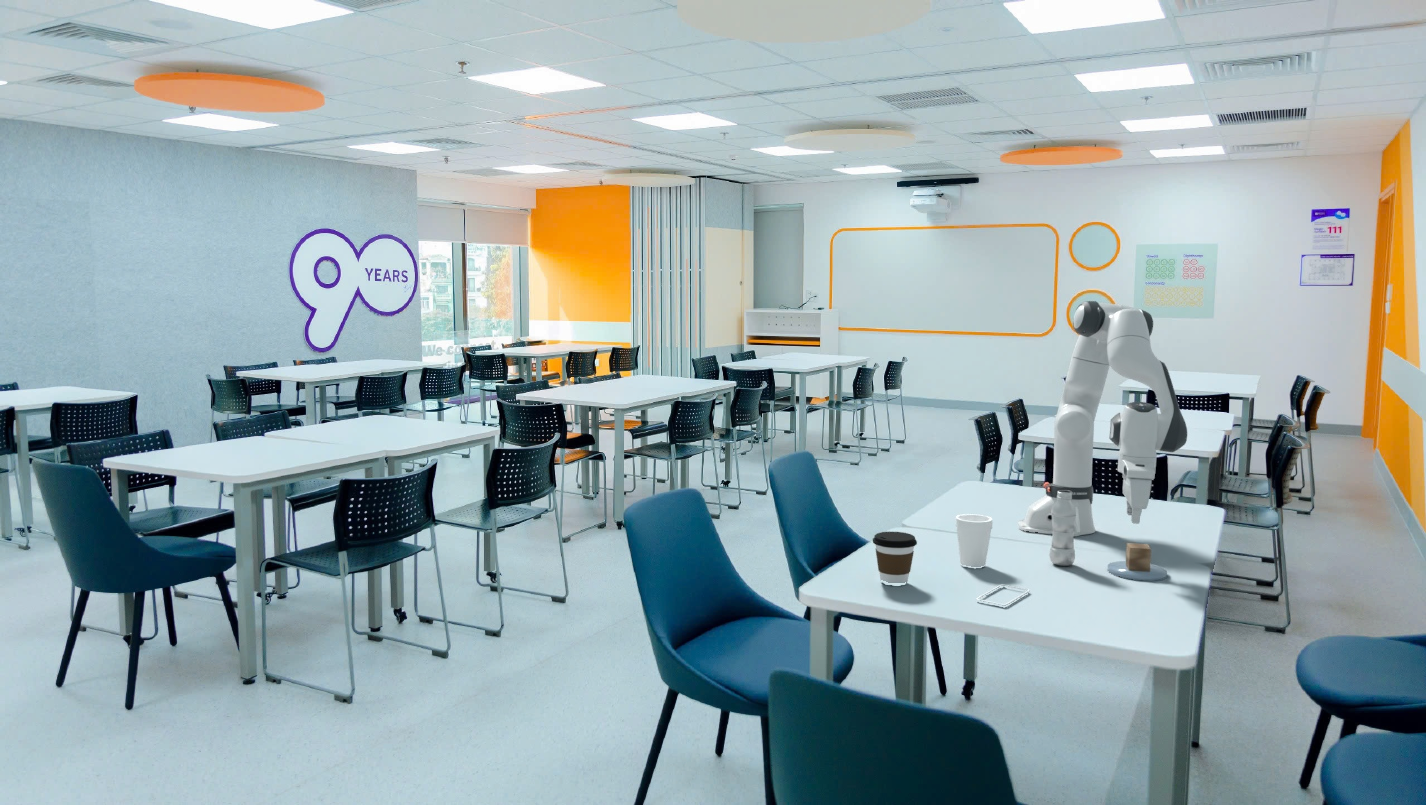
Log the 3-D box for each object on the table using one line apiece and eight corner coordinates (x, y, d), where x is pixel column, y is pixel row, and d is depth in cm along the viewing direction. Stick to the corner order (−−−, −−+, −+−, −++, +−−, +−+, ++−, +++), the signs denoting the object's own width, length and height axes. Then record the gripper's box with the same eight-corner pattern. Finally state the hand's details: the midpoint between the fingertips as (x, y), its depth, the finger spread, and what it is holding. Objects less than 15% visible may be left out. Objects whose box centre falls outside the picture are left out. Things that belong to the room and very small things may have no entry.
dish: (1111, 578, 236) (1111, 573, 236) (1104, 563, 249) (1104, 559, 249) (1171, 582, 232) (1172, 578, 232) (1161, 567, 245) (1161, 563, 245)
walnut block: (1128, 570, 239) (1129, 547, 238) (1125, 565, 243) (1126, 542, 243) (1150, 571, 237) (1151, 548, 237) (1146, 566, 242) (1147, 544, 241)
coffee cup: (890, 592, 225) (891, 543, 224) (863, 580, 235) (863, 533, 234) (925, 585, 230) (926, 538, 229) (897, 574, 240) (898, 529, 239)
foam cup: (993, 563, 250) (995, 516, 249) (988, 572, 242) (989, 523, 240) (957, 559, 254) (958, 512, 253) (951, 568, 246) (952, 519, 244)
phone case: (1005, 610, 213) (1030, 594, 224) (1005, 604, 213) (1030, 589, 224) (974, 604, 218) (1001, 589, 229) (975, 598, 218) (1001, 583, 229)
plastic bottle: (1074, 562, 250) (1077, 489, 248) (1075, 569, 244) (1078, 494, 242) (1048, 560, 252) (1051, 488, 250) (1049, 567, 246) (1051, 493, 244)
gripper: (1118, 458, 248) (1115, 509, 250) (1128, 471, 229) (1124, 526, 231) (1144, 460, 247) (1140, 511, 248) (1156, 473, 227) (1151, 529, 229)
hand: (1132, 518), depth 239 cm, fingers open, 8 cm apart
